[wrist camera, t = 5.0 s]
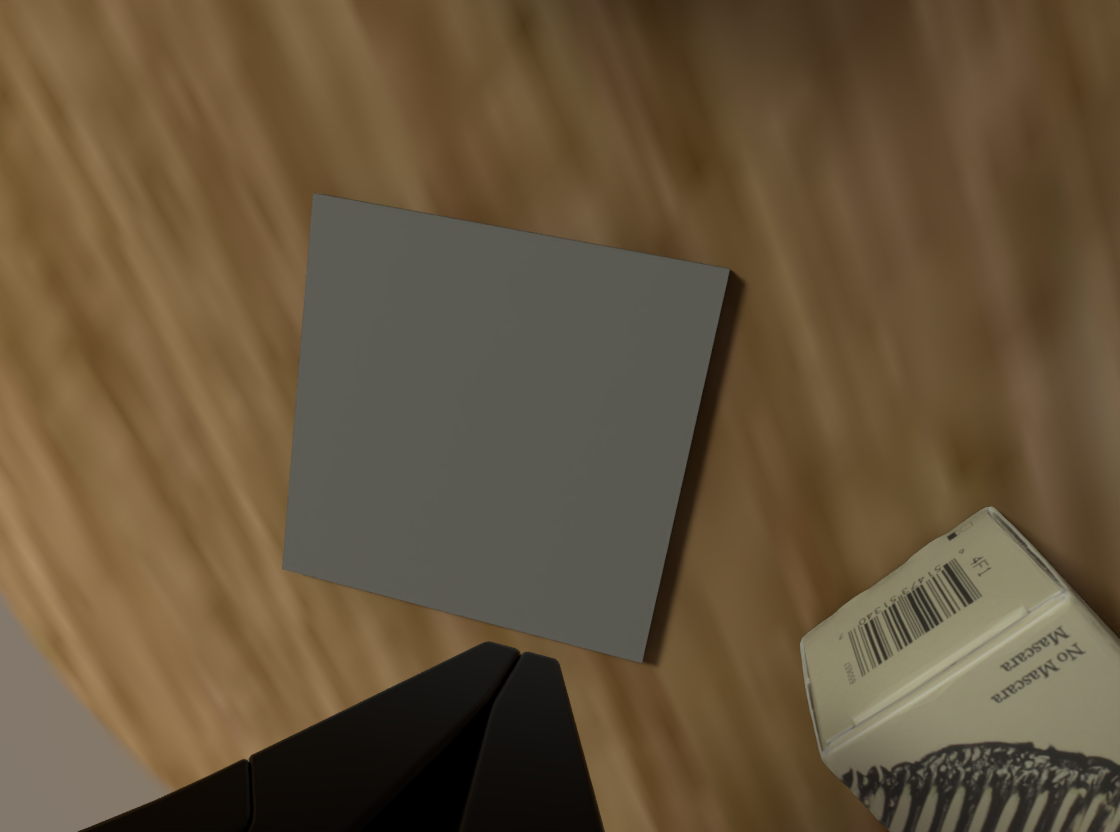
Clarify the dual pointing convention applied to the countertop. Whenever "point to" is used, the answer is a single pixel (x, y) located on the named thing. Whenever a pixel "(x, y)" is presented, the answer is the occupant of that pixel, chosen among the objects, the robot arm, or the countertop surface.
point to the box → (971, 692)
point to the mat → (495, 419)
